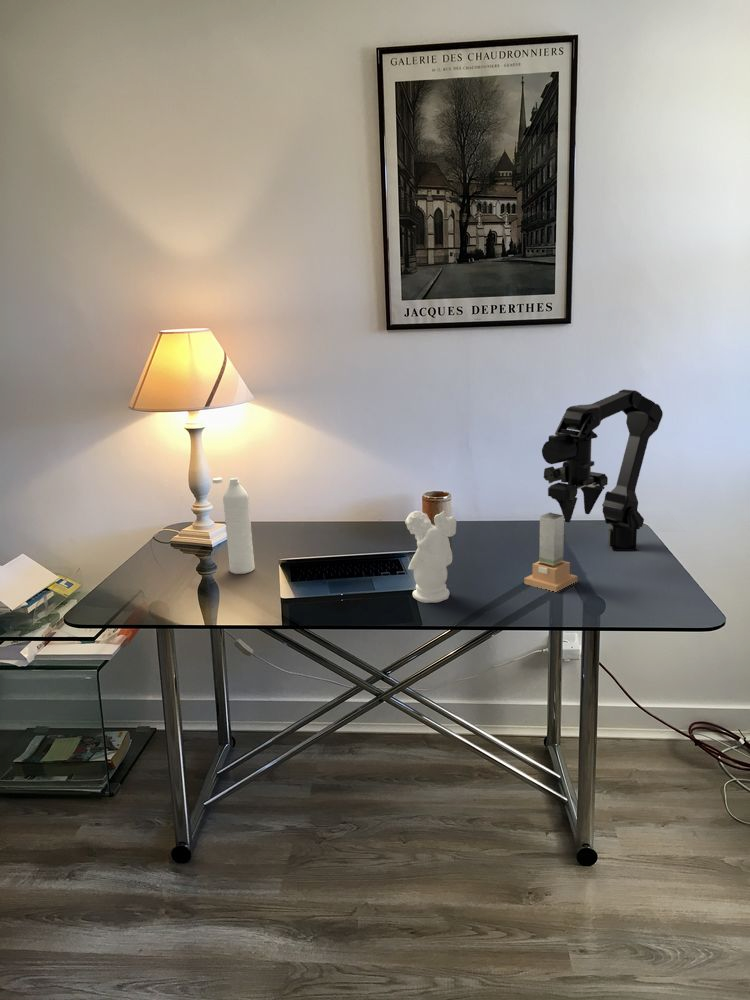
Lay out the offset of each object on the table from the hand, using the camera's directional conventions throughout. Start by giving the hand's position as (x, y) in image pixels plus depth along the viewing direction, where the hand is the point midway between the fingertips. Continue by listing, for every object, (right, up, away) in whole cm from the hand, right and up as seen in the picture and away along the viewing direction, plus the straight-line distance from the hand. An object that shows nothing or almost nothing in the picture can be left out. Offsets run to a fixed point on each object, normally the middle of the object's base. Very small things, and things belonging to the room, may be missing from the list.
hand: (577, 518), depth 200 cm
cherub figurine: (-36, -18, -13) cm, 43 cm away
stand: (-9, -15, -9) cm, 20 cm away
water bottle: (-87, -14, +9) cm, 89 cm away
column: (-9, -10, -11) cm, 17 cm away
